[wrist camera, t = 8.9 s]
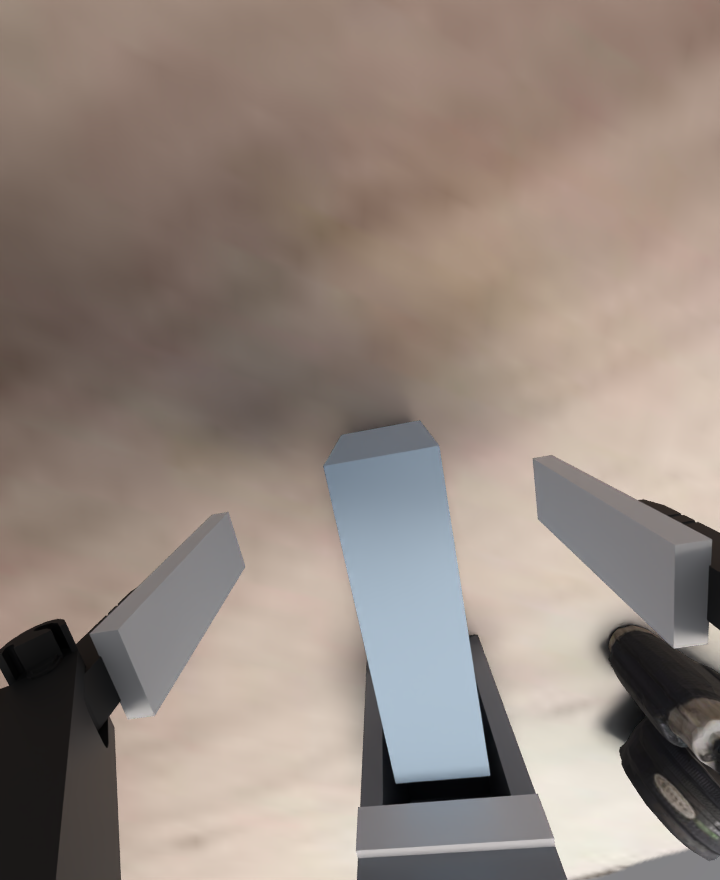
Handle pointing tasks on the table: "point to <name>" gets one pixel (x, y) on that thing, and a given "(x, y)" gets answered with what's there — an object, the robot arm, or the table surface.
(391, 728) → the tall blue-grey block
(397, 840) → the dispenser
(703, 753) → the camera
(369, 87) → the table surface
